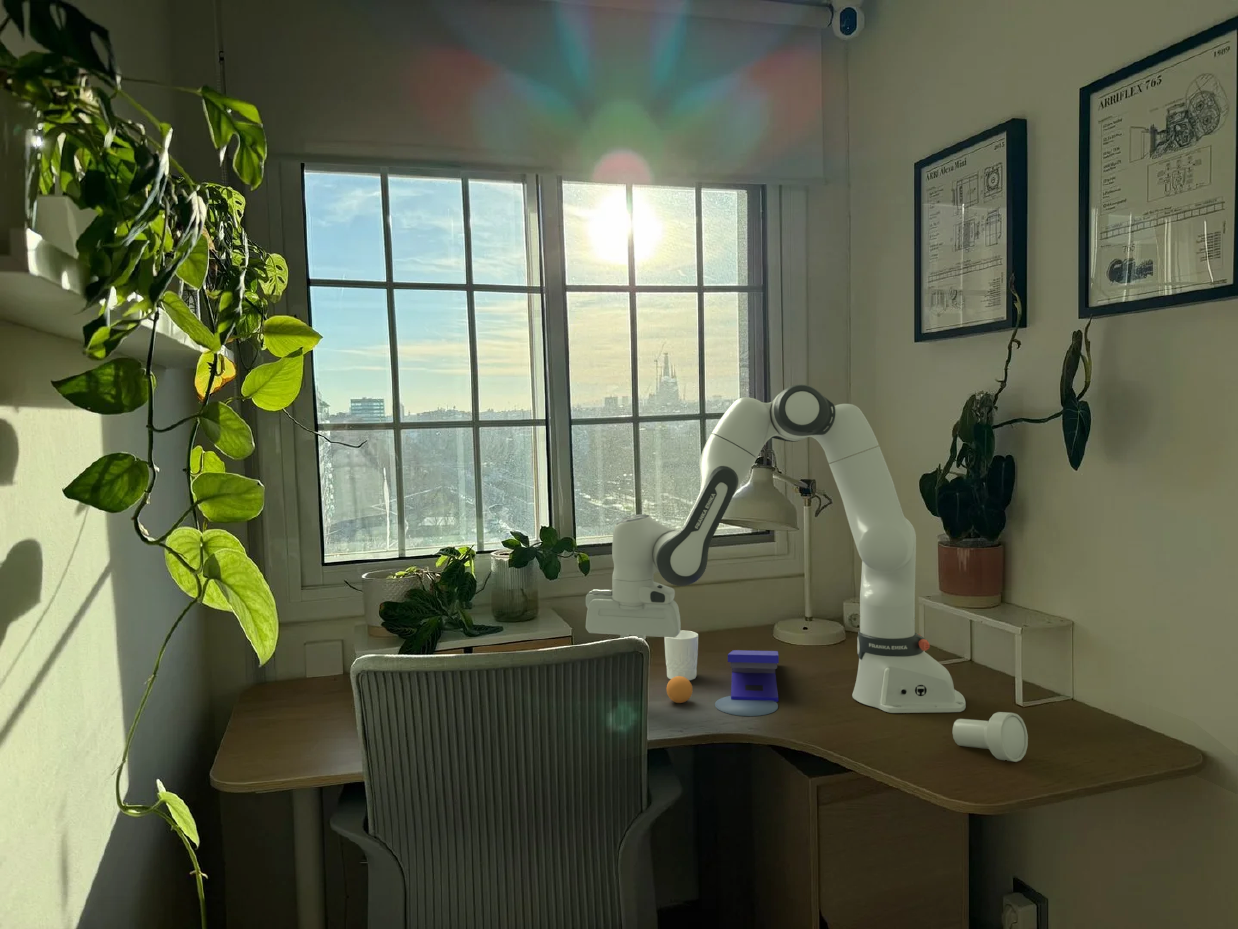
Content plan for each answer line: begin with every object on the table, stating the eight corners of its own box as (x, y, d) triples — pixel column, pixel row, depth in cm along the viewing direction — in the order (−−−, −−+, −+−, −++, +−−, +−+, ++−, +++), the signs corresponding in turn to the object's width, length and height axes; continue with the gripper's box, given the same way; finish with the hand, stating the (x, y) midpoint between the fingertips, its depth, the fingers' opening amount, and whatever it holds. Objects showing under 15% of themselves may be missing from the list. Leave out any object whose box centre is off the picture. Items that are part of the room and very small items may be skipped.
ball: (694, 698, 186) (693, 673, 186) (690, 707, 181) (690, 681, 180) (668, 697, 187) (668, 672, 187) (664, 706, 182) (664, 680, 181)
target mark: (778, 697, 186) (778, 696, 186) (777, 718, 173) (777, 717, 173) (718, 694, 189) (718, 693, 189) (711, 714, 176) (711, 713, 176)
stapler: (728, 702, 185) (727, 656, 184) (729, 665, 212) (729, 625, 212) (782, 703, 183) (782, 657, 183) (777, 666, 211) (777, 626, 210)
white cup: (698, 672, 205) (698, 630, 205) (698, 682, 198) (698, 639, 197) (665, 672, 206) (664, 630, 206) (663, 682, 198) (663, 638, 198)
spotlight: (1005, 763, 146) (1002, 713, 148) (946, 756, 155) (944, 709, 157) (1032, 761, 150) (1029, 712, 152) (974, 754, 160) (971, 709, 161)
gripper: (581, 591, 184) (582, 656, 185) (677, 596, 180) (677, 661, 180) (589, 586, 190) (589, 648, 191) (681, 590, 186) (681, 653, 187)
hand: (632, 655), depth 186 cm, fingers closed
